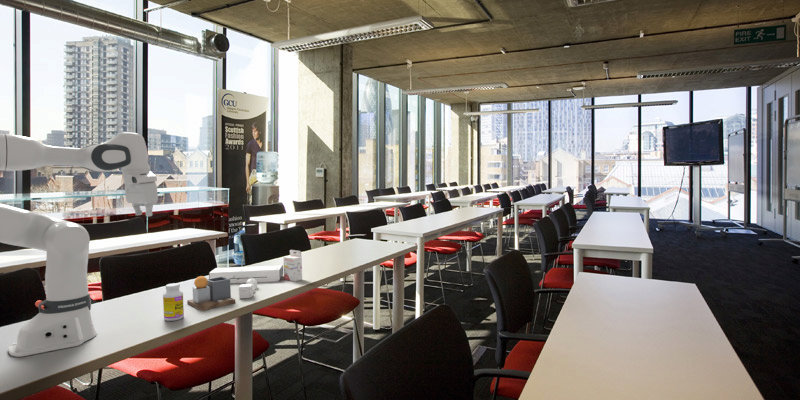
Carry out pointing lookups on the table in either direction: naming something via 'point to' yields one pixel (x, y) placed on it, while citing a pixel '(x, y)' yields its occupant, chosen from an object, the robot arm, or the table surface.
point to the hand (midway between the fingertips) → (144, 215)
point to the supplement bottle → (173, 302)
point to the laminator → (249, 273)
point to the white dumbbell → (248, 288)
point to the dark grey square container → (219, 288)
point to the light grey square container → (201, 295)
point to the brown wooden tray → (211, 303)
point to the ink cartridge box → (293, 266)
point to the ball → (200, 282)
